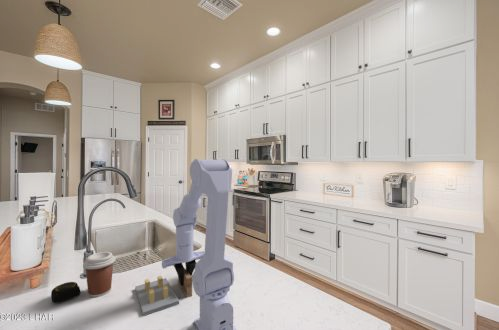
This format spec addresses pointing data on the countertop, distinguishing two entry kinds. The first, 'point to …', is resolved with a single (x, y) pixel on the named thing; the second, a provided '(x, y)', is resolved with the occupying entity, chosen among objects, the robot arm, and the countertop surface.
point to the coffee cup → (99, 273)
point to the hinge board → (155, 295)
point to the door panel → (186, 283)
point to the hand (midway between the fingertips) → (184, 283)
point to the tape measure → (65, 292)
